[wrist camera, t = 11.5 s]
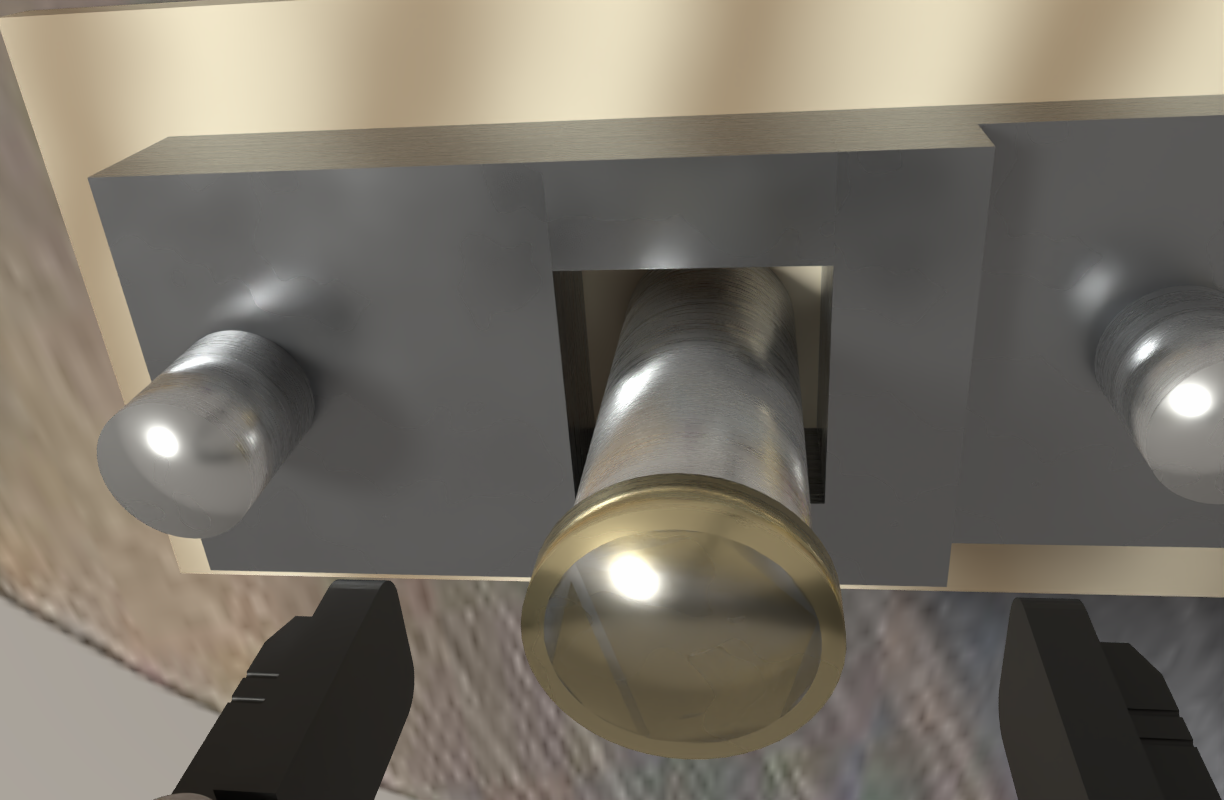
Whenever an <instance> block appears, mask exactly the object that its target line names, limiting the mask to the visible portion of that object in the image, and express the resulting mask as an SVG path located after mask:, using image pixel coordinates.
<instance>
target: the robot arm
mask: <svg viewBox="0 0 1224 800" xmlns="http://www.w3.org/2000/svg"><path fill="white" fill-rule="evenodd" d="M413 692H414V667H413V661H412V657H411V652H410V647H409V643H408V638H407V634H406V629H405V625H404V620H403V615H402V611H401V606H400V602H399V597H398V593H397V590H396V587H395V585H394V584H393V583H392V582H391V581H386V580H344V579H339V580H335V581H334V582H333V583H332V584H331V585H330V587H329V588H328V590H327V592H326V593H325V595H324V597H323V599H322V600H321V602H320V604H319V606H318V607H317V609H316V611H315V613H314V614H313V616H312V617H307V616H295V617H294V618H293V619H292V620H291V621H289V622H288V623H287V624H286V625H285V626H283V627H282V628H281V629H280V630H279V631H278V632H276V633H275V634H274V635H273V636H272V637H270V638H269V639H268V640H267V641H266V642H265V643H264V645H263V646H262V648H261V650H260V651H259V653H258V654H257V656H256V658H255V659H254V661H253V663H252V664H251V666H250V667H249V669H248V671H247V677H246V678H243V679H242V680H241V682H240V684H239V685H238V687H237V689H236V690H235V692H234V693H233V695H232V701H231V703H227V705H226V706H225V708H224V710H223V711H222V713H221V715H220V716H219V718H218V719H217V721H216V723H215V724H214V726H213V728H212V729H211V731H210V732H209V734H208V736H207V737H206V739H205V741H204V742H203V744H202V746H201V747H200V749H199V750H198V752H197V754H196V755H195V757H194V759H193V760H192V762H191V763H190V765H189V767H188V768H187V770H186V771H185V773H184V775H183V776H182V778H181V780H180V781H179V783H178V785H177V786H176V788H175V789H174V791H173V793H172V794H171V795H167V796H163V797H160V798H157V799H154V800H374V798H375V796H376V793H377V791H378V789H379V786H380V784H381V781H382V779H383V776H384V774H385V771H386V769H387V766H388V764H389V761H390V759H391V756H392V754H393V751H394V749H395V746H396V744H397V741H398V739H399V736H400V734H401V731H402V729H403V726H404V724H405V721H406V719H407V716H408V714H409V711H410V707H411V704H412V699H413ZM999 720H1000V729H1001V735H1002V740H1003V744H1004V748H1005V752H1006V755H1007V759H1008V763H1009V767H1010V770H1011V774H1012V778H1013V782H1014V786H1015V789H1016V793H1017V797H1018V800H1221V798H1220V796H1219V793H1218V791H1217V789H1216V787H1215V785H1214V783H1213V781H1212V779H1211V777H1210V774H1209V772H1208V770H1207V768H1206V766H1205V764H1204V762H1203V760H1202V758H1201V756H1200V753H1199V751H1198V749H1197V747H1194V746H1193V739H1192V737H1191V734H1190V732H1189V730H1188V728H1187V726H1186V724H1185V722H1184V720H1183V718H1182V717H1179V709H1178V707H1177V705H1176V703H1175V701H1174V699H1173V697H1172V694H1171V692H1170V690H1169V688H1168V686H1167V684H1166V682H1165V680H1164V678H1163V676H1162V674H1161V673H1160V672H1159V671H1158V670H1157V669H1156V668H1155V667H1153V666H1152V665H1151V664H1150V663H1149V662H1148V661H1147V660H1146V659H1145V658H1144V657H1143V656H1142V655H1141V654H1140V653H1139V652H1138V651H1137V650H1136V649H1135V648H1134V647H1132V646H1131V645H1130V644H1129V643H1108V642H1099V640H1098V637H1097V635H1096V632H1095V630H1094V628H1093V625H1092V623H1091V620H1090V618H1089V616H1088V613H1087V611H1086V609H1085V606H1084V605H1083V603H1082V602H1081V601H1080V600H1078V599H1053V598H1015V599H1014V600H1013V603H1012V606H1011V610H1010V617H1009V624H1008V631H1007V638H1006V645H1005V652H1004V659H1003V666H1002V673H1001V680H1000V687H999Z"/></svg>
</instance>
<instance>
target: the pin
mask: <svg viewBox="0 0 1224 800" xmlns="http://www.w3.org/2000/svg"><path fill="white" fill-rule="evenodd" d="M521 633H522V642H523V646H524V650H525V655H526V657H527V660H528V662H529V665H530V667H531V670H532V672H533V673H534V675H535V677H536V679H537V680H538V682H539V684H540V685H541V687H542V688H543V689H544V691H545V692H546V693H547V695H548V696H549V697H550V698H551V699H552V700H553V701H554V702H555V704H556V705H557V706H558V707H559V708H560V709H561V710H562V711H563V712H565V713H566V714H567V715H568V716H570V717H571V718H572V719H573V720H575V721H576V722H577V723H579V724H580V725H582V726H583V727H585V728H586V729H588V730H590V731H591V732H593V733H594V734H596V735H598V736H600V737H602V738H604V739H606V740H608V741H610V742H613V743H615V744H618V745H621V746H623V747H626V748H628V749H632V750H635V751H639V752H642V753H646V754H651V755H656V756H662V757H668V758H678V759H713V758H723V757H729V756H734V755H740V754H744V753H748V752H751V751H754V750H757V749H761V748H764V747H766V746H768V745H770V744H773V743H775V742H777V741H780V740H781V739H783V738H785V737H787V736H788V735H790V734H792V733H793V732H795V731H797V730H798V729H799V728H800V727H802V726H803V725H804V724H806V723H807V722H808V721H810V720H811V719H812V718H813V716H814V715H815V714H816V713H817V712H818V711H819V710H820V709H821V708H822V707H823V706H824V704H825V703H826V702H827V700H828V699H829V698H830V696H831V695H832V693H833V691H834V689H835V687H836V685H837V683H838V681H839V679H840V675H841V672H842V669H843V666H844V661H845V653H846V631H845V622H844V614H843V605H842V596H841V589H840V584H839V580H838V575H837V572H836V570H835V567H834V564H833V562H832V559H831V557H830V555H829V554H828V552H827V550H826V549H825V547H824V545H823V543H822V542H821V541H820V539H819V538H818V537H817V536H816V534H815V533H814V532H813V530H812V518H811V506H810V494H809V483H808V471H807V459H806V447H805V436H804V424H803V412H802V400H801V389H800V377H799V365H798V353H797V342H796V330H795V318H794V311H793V306H792V302H791V299H790V296H789V294H788V292H787V290H786V288H785V286H784V284H783V283H782V282H781V280H780V279H779V277H778V276H777V275H776V274H775V273H774V272H773V271H772V270H771V269H770V268H769V267H738V268H686V269H649V270H647V272H646V273H645V274H644V275H643V276H642V277H641V279H640V280H639V282H638V283H637V285H636V286H635V288H634V290H633V293H632V295H631V297H630V301H629V304H628V307H627V311H626V315H625V318H624V322H623V326H622V330H621V333H620V337H619V341H618V344H617V348H616V352H615V355H614V359H613V363H612V367H611V370H610V374H609V378H608V381H607V385H606V389H605V392H604V396H603V400H602V403H601V407H600V411H599V415H598V418H597V422H596V426H595V429H594V433H593V437H592V440H591V444H590V448H589V452H588V455H587V459H586V463H585V466H584V470H583V474H582V477H581V481H580V485H579V489H578V492H577V496H576V500H575V503H574V507H573V508H571V509H570V510H569V511H568V512H567V513H566V514H565V515H564V516H563V517H562V518H561V519H560V520H559V521H558V522H557V523H556V524H555V525H554V527H553V528H552V530H551V531H550V533H549V534H548V536H547V537H546V538H545V541H544V543H543V545H542V547H541V549H540V551H539V553H538V557H537V560H536V563H535V566H534V570H533V573H532V576H531V580H530V583H529V586H528V590H527V593H526V597H525V600H524V604H523V608H522V617H521Z"/></svg>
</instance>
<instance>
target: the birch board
mask: <svg viewBox="0 0 1224 800" xmlns="http://www.w3.org/2000/svg"><path fill="white" fill-rule="evenodd" d="M0 30H1V33H2V36H3V39H4V42H5V45H6V48H7V51H8V54H9V57H10V60H11V63H12V66H13V69H14V72H15V75H16V78H17V81H18V84H19V87H20V90H21V93H22V96H23V99H24V102H25V105H26V108H27V111H28V114H29V117H30V120H31V123H32V126H33V129H34V132H35V135H36V138H37V141H38V144H39V147H40V150H41V153H42V156H43V159H44V162H45V165H46V168H47V171H48V174H49V177H50V180H51V183H52V187H53V190H54V193H55V196H56V199H57V202H58V205H59V208H60V211H61V214H62V217H63V220H64V223H65V226H66V229H67V232H68V235H69V238H70V241H71V244H72V247H73V250H74V253H75V256H76V259H77V262H78V265H79V268H80V271H81V274H82V277H83V280H84V283H85V286H86V289H87V292H88V295H89V298H90V301H91V304H92V307H93V310H94V313H95V316H96V319H97V322H98V325H99V328H100V331H101V334H102V337H103V340H104V343H105V346H106V349H107V352H108V355H109V358H110V361H111V364H112V367H113V370H114V373H115V376H116V379H117V382H118V385H119V388H120V391H121V394H122V397H123V400H124V403H125V405H126V404H128V403H129V402H130V401H131V400H132V399H133V398H134V397H135V396H136V395H138V394H139V393H140V392H141V391H142V390H143V389H144V388H145V387H146V386H148V385H149V384H150V383H151V379H150V376H149V372H148V369H147V366H146V363H145V360H144V357H143V353H142V350H141V347H140V344H139V341H138V338H137V334H136V331H135V328H134V325H133V322H132V318H131V315H130V312H129V309H128V306H127V303H126V299H125V296H124V293H123V290H122V287H121V283H120V280H119V277H118V274H117V271H116V268H115V264H114V261H113V258H112V255H111V252H110V248H109V245H108V242H107V239H106V236H105V233H104V229H103V226H102V223H101V220H100V217H99V213H98V210H97V207H96V204H95V201H94V198H93V194H92V191H91V188H90V185H89V182H88V177H90V176H91V175H93V174H95V173H97V172H99V171H101V170H103V169H105V168H107V167H109V166H111V165H113V164H115V163H117V162H119V161H121V160H123V159H125V158H127V157H129V156H131V155H133V154H135V153H137V152H139V151H141V150H143V149H145V148H147V147H149V146H151V145H153V144H155V143H157V142H159V141H161V140H163V139H165V138H167V137H170V136H195V135H220V134H245V133H270V132H295V131H320V130H345V129H370V128H395V127H420V126H445V125H470V124H495V123H520V122H545V121H570V120H595V119H620V118H645V117H670V116H695V115H720V114H746V113H771V112H796V111H821V110H846V109H871V108H896V107H921V106H946V105H971V104H996V103H1021V102H1046V101H1071V100H1096V99H1121V98H1146V97H1171V96H1196V95H1221V94H1224V0H202V1H185V2H168V3H151V4H134V5H117V6H101V7H84V8H67V9H50V10H33V11H24V12H20V13H16V14H12V15H7V16H3V17H0ZM769 268H770V269H771V270H772V271H773V272H774V273H775V274H776V275H777V276H778V277H779V279H780V280H781V282H782V283H783V284H784V286H785V288H786V290H787V292H788V294H789V296H790V299H791V302H792V306H793V311H794V318H795V330H796V342H797V353H798V365H799V377H800V389H801V400H802V412H803V424H804V428H817V400H818V368H819V336H820V304H821V272H822V266H789V267H769ZM647 270H649V269H635V270H583V271H582V280H583V291H584V303H585V315H586V326H587V338H588V349H589V361H590V373H591V384H592V396H593V407H594V419H595V426H596V422H597V418H598V415H599V411H600V407H601V403H602V400H603V396H604V392H605V389H606V385H607V381H608V378H609V374H610V370H611V367H612V363H613V359H614V355H615V352H616V348H617V344H618V341H619V337H620V333H621V330H622V326H623V322H624V318H625V315H626V311H627V307H628V304H629V301H630V297H631V295H632V293H633V290H634V288H635V286H636V285H637V283H638V282H639V280H640V279H641V277H642V276H643V275H644V274H645V273H646V272H647ZM168 536H169V539H170V542H171V545H172V548H173V551H174V554H175V557H176V560H177V563H178V566H179V569H180V572H181V573H195V574H238V575H281V576H324V577H367V578H410V579H453V580H496V581H530V580H531V578H527V577H483V576H439V575H395V574H351V573H307V572H263V571H219V570H210V567H209V563H208V560H207V557H206V554H205V551H204V547H203V544H202V541H201V538H198V539H193V538H183V537H177V536H173V535H170V534H168ZM840 588H841V589H884V590H927V591H970V592H1013V593H1056V594H1099V595H1142V596H1185V597H1224V548H1201V547H1142V546H1084V545H1025V544H966V543H952V545H951V555H950V564H949V573H948V582H947V587H923V586H879V585H840Z"/></svg>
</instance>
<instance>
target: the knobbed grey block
mask: <svg viewBox="0 0 1224 800" xmlns="http://www.w3.org/2000/svg"><path fill="white" fill-rule="evenodd" d="M88 182H89V185H90V188H91V191H92V194H93V198H94V201H95V204H96V207H97V210H98V213H99V217H100V220H101V223H102V226H103V229H104V233H105V236H106V239H107V242H108V245H109V248H110V252H111V255H112V258H113V261H114V264H115V268H116V271H117V274H118V277H119V280H120V283H121V287H122V290H123V293H124V296H125V299H126V303H127V306H128V309H129V312H130V315H131V318H132V322H133V325H134V328H135V331H136V334H137V338H138V341H139V344H140V347H141V350H142V353H143V357H144V360H145V363H146V366H147V369H148V372H149V376H150V379H151V383H150V384H149V385H148V386H146V387H145V388H144V389H143V390H142V391H141V392H140V393H139V394H138V395H136V396H135V397H134V398H133V399H132V400H131V401H130V402H129V403H128V404H126V405H125V406H124V407H123V408H122V409H121V410H120V411H119V412H118V413H116V414H115V415H114V416H113V417H112V418H111V419H110V420H109V421H108V422H107V423H106V425H105V426H104V428H103V430H102V431H101V434H100V436H99V439H98V445H97V460H98V466H99V469H100V473H101V475H102V477H103V480H104V482H105V484H106V485H107V487H108V489H109V491H110V492H111V493H112V495H113V496H114V497H115V499H116V500H117V501H118V502H119V503H120V504H121V505H122V506H123V507H124V508H125V509H126V510H127V511H128V512H129V513H130V514H132V515H133V516H134V517H135V518H137V519H138V520H140V521H141V522H143V523H145V524H146V525H148V526H150V527H152V528H154V529H156V530H158V531H161V532H163V533H166V534H170V535H173V536H177V537H183V538H193V539H198V538H201V541H202V544H203V547H204V551H205V554H206V557H207V560H208V563H209V567H210V570H219V571H263V572H307V573H351V574H395V575H439V576H483V577H527V578H531V576H532V573H533V570H534V566H535V563H536V560H537V557H538V553H539V551H540V549H541V547H542V545H543V543H544V541H545V538H546V537H547V536H548V534H549V533H550V531H551V530H552V528H553V527H554V525H555V524H556V523H557V522H558V521H559V520H560V519H561V518H562V517H563V516H564V515H565V514H566V513H567V512H568V511H569V510H570V509H571V508H573V507H574V503H575V500H576V496H577V492H578V489H579V485H580V481H581V477H582V474H583V470H584V466H585V463H586V459H587V455H588V452H589V448H590V444H591V440H592V437H593V433H594V429H595V419H594V407H593V396H592V384H591V373H590V361H589V349H588V338H587V326H586V315H585V303H584V291H583V280H582V271H583V270H635V269H686V268H738V267H789V266H822V272H821V304H820V336H819V368H818V400H817V428H804V436H805V447H806V459H807V471H808V483H809V494H810V506H811V518H812V530H813V532H814V533H815V534H816V536H817V537H818V538H819V539H820V541H821V542H822V543H823V545H824V547H825V549H826V550H827V552H828V554H829V555H830V557H831V559H832V562H833V564H834V567H835V570H836V572H837V575H838V580H839V584H840V585H879V586H923V587H947V582H948V573H949V564H950V555H951V545H952V543H966V544H1025V545H1084V546H1142V547H1201V548H1224V94H1221V95H1196V96H1171V97H1146V98H1121V99H1096V100H1071V101H1046V102H1021V103H996V104H971V105H946V106H921V107H896V108H871V109H846V110H821V111H796V112H771V113H746V114H720V115H695V116H670V117H645V118H620V119H595V120H570V121H545V122H520V123H495V124H470V125H445V126H420V127H395V128H370V129H345V130H320V131H295V132H270V133H245V134H220V135H195V136H170V137H167V138H165V139H163V140H161V141H159V142H157V143H155V144H153V145H151V146H149V147H147V148H145V149H143V150H141V151H139V152H137V153H135V154H133V155H131V156H129V157H127V158H125V159H123V160H121V161H119V162H117V163H115V164H113V165H111V166H109V167H107V168H105V169H103V170H101V171H99V172H97V173H95V174H93V175H91V176H90V177H88Z"/></svg>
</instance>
